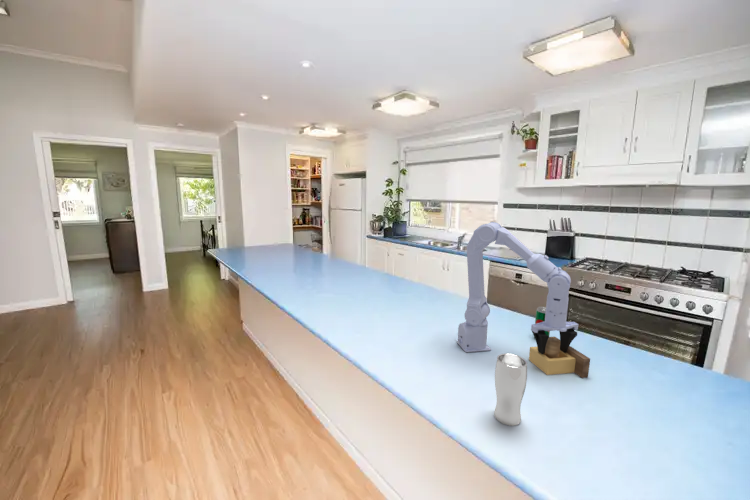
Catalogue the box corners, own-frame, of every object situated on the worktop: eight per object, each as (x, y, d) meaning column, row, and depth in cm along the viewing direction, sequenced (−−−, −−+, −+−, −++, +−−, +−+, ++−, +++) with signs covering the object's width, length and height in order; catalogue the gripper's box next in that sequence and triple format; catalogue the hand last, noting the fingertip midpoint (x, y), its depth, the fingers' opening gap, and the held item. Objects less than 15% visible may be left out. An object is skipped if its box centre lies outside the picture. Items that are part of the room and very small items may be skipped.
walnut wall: (581, 378, 95) (584, 359, 94) (547, 353, 110) (549, 336, 109) (587, 377, 95) (590, 358, 94) (553, 353, 110) (554, 336, 109)
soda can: (550, 342, 118) (553, 311, 116) (535, 341, 119) (538, 310, 117) (546, 336, 123) (549, 306, 121) (532, 335, 124) (534, 305, 122)
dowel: (549, 368, 99) (551, 343, 98) (540, 361, 103) (543, 338, 102) (561, 367, 100) (563, 342, 99) (552, 360, 104) (554, 337, 103)
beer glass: (487, 408, 82) (491, 353, 79) (513, 407, 82) (518, 352, 80) (500, 428, 75) (504, 368, 72) (528, 426, 75) (534, 367, 73)
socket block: (547, 374, 97) (548, 361, 96) (528, 359, 106) (530, 347, 105) (574, 372, 98) (575, 358, 97) (553, 357, 107) (555, 345, 106)
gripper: (543, 316, 94) (539, 360, 96) (587, 314, 96) (582, 356, 98) (528, 308, 101) (524, 349, 103) (570, 306, 103) (566, 345, 105)
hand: (552, 352), depth 101 cm, fingers open, 7 cm apart
